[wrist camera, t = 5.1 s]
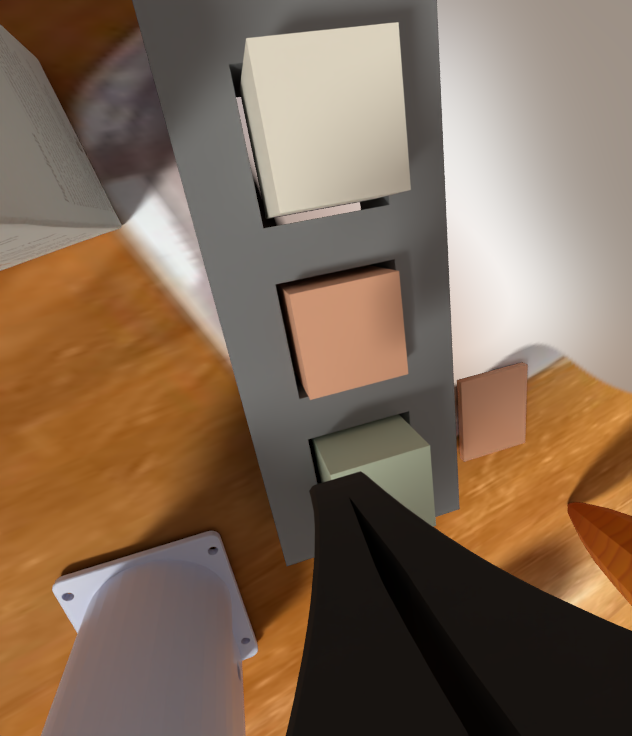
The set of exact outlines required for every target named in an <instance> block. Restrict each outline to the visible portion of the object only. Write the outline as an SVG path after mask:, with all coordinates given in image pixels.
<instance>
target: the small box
mask: <svg viewBox="0 0 632 736" xmlns="http://www.w3.org/2000/svg"><path fill="white" fill-rule="evenodd" d="M119 228H121V223H120V221H119V219H118V217H117V215H116V213H115V211H114V209H113V207H112V205H111V203H110V201H109V199H108V197H107V195H106V193H105V191H104V189H103V187H102V185H101V183H100V181H99V179H98V177H97V175H96V173H95V171H94V169H93V167H92V165H91V164H90V162H89V160H88V158H87V156H86V154H85V152H84V150H83V148H82V146H81V144H80V142H79V140H78V138H77V136H76V134H75V132H74V130H73V128H72V126H71V124H70V122H69V120H68V118H67V116H66V114H65V112H64V110H63V108H62V106H61V104H60V102H59V100H58V98H57V96H56V94H55V92H54V90H53V88H52V86H51V84H50V82H49V80H48V78H47V77H46V75H45V73H44V71H43V69H42V66H41V64H40V62H39V61H38V59H37V58H36V57H35V56H34V55H33V54H32V53H31V52H30V51H28V50H27V49H26V48H25V47H24V46H23V45H22V44H21V43H20V42H19V41H18V40H17V39H16V38H14V37H13V36H12V35H11V34H10V33H9V32H8V31H7V30H6V29H5V28H4V27H3V26H2V25H0V271H1V270H4V269H6V268H9V267H12V266H15V265H18V264H20V263H23V262H26V261H29V260H31V259H34V258H37V257H40V256H43V255H45V254H48V253H51V252H54V251H56V250H59V249H62V248H65V247H67V246H70V245H73V244H76V243H79V242H82V241H84V240H87V239H90V238H93V237H96V236H99V235H102V234H104V233H107V232H111V231H114V230H117V229H119Z"/></svg>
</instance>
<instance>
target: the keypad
mask: <svg viewBox="0 0 632 736" xmlns="http://www.w3.org/2000/svg"><path fill="white" fill-rule="evenodd" d="M132 1H133V5H134V9H135V12H136V16H137V20H138V23H139V27H140V31H141V34H142V38H143V42H144V45H145V49H146V53H147V56H148V60H149V64H150V67H151V71H152V75H153V78H154V82H155V86H156V89H157V93H158V97H159V100H160V104H161V108H162V111H163V115H164V119H165V122H166V126H167V130H168V133H169V137H170V140H171V144H172V148H173V151H174V155H175V159H176V162H177V166H178V170H179V173H180V177H181V181H182V184H183V188H184V192H185V195H186V199H187V203H188V206H189V210H190V214H191V217H192V221H193V225H194V228H195V232H196V236H197V239H198V243H199V247H200V250H201V254H202V258H203V261H204V265H205V269H206V272H207V276H208V280H209V283H210V287H211V291H212V294H213V298H214V302H215V305H216V309H217V313H218V316H219V320H220V324H221V327H222V331H223V335H224V338H225V342H226V346H227V349H228V353H229V357H230V360H231V364H232V368H233V371H234V375H235V379H236V382H237V386H238V390H239V393H240V397H241V401H242V404H243V408H244V412H245V415H246V419H247V423H248V426H249V430H250V434H251V437H252V441H253V445H254V448H255V452H256V456H257V459H258V463H259V467H260V470H261V474H262V478H263V481H264V485H265V489H266V492H267V496H268V499H269V503H270V507H271V510H272V514H273V518H274V521H275V525H276V529H277V532H278V536H279V540H280V543H281V547H282V551H283V554H284V558H285V562H286V565H287V566H289V565H292V564H295V563H298V562H301V561H304V560H307V559H310V558H313V557H314V552H315V523H314V511H313V506H312V502H311V497H310V493H309V490H310V489H311V487H312V486H313V485H316V484H320V483H321V482H320V483H317V481H316V476H315V471H314V466H313V462H312V457H311V452H310V447H309V443H308V439H311V438H315V437H319V436H322V435H326V434H329V433H333V432H336V431H340V430H343V429H347V428H351V427H354V426H358V425H361V424H365V423H368V422H372V421H375V420H379V419H383V418H386V417H390V416H393V415H397V414H399V415H400V416H401V417H402V418H403V419H404V420H405V421H406V422H407V423H408V424H409V425H410V426H411V427H412V428H413V429H414V430H415V431H416V432H417V433H418V434H419V435H420V436H421V437H422V438H423V439H424V440H425V441H426V442H427V443H428V444H429V445H430V453H431V466H432V479H433V493H434V506H435V517H437V516H440V515H443V514H446V513H449V512H452V511H455V510H458V509H459V489H458V467H457V445H456V422H455V400H454V379H453V355H452V333H451V311H450V288H449V268H448V267H449V266H448V245H447V222H446V221H447V220H446V199H445V176H444V155H443V154H444V153H443V131H442V109H441V86H440V64H439V41H438V19H437V0H132ZM396 22H398V23H399V37H400V50H401V63H402V77H403V90H404V104H405V117H406V131H407V144H408V157H409V171H410V184H411V190H408V191H404V192H400V193H396V194H392V195H388V196H384V197H380V198H376V199H372V200H367V201H362V202H360V205H361V210H360V211H354V212H349V213H343V214H338V215H333V216H327V217H322V218H317V219H311V220H306V221H301V222H295V223H290V224H284V225H279V226H274V227H268V228H263V224H262V219H261V215H260V210H259V205H258V200H257V196H256V191H255V186H254V181H253V177H252V172H251V167H250V162H249V158H248V153H247V148H246V144H245V139H244V135H243V129H242V125H241V120H240V115H239V111H238V106H237V101H236V97H241V94H240V82H241V74H242V66H243V59H244V51H245V43H246V38H253V37H263V36H272V35H282V34H291V33H301V32H310V31H320V30H329V29H339V28H348V27H358V26H367V25H377V24H386V23H396ZM365 265H371V266H376V267H381V268H386V269H391V270H397V271H399V276H400V287H401V298H402V309H403V320H404V331H405V342H406V353H407V364H408V374H407V375H403V376H399V377H395V378H392V379H388V380H384V381H380V382H376V383H373V384H369V385H365V386H361V387H358V388H354V389H350V390H346V391H342V392H339V393H335V394H331V395H327V396H323V397H320V398H316V399H312V400H310V398H309V397H308V395H307V393H306V391H305V389H304V387H303V386H302V384H301V382H300V380H299V378H298V376H297V375H296V373H295V372H294V371H293V367H292V362H291V357H290V352H289V348H288V343H287V338H286V333H285V329H284V324H283V319H282V314H281V310H280V305H279V300H278V295H277V291H276V286H275V284H280V283H284V282H289V281H294V280H299V279H303V278H308V277H313V276H318V275H322V274H327V273H332V272H336V271H341V270H346V269H351V268H355V267H360V266H365Z"/></svg>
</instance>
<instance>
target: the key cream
mask: <svg viewBox="0 0 632 736" xmlns="http://www.w3.org/2000/svg"><path fill="white" fill-rule="evenodd" d="M240 94H241V99H242V104H243V109H244V114H245V119H246V123H247V128H248V133H249V138H250V142H251V148H252V152H253V157H254V162H255V167H256V172H257V177H258V182H259V186H260V191H261V196H262V201H263V206H264V211H265V215H266V219H269V218H274V217H280V216H285V215H291V214H296V213H301V212H307V211H313V210H318V209H324V208H329V207H334V206H340V205H345V204H350V203H356V202H362V201H367V200H372V199H376V198H380V197H384V196H388V195H392V194H396V193H400V192H404V191H408V190H411V184H410V171H409V157H408V144H407V131H406V117H405V104H404V90H403V77H402V63H401V50H400V37H399V23H398V22H396V23H386V24H377V25H367V26H358V27H348V28H339V29H329V30H320V31H310V32H301V33H291V34H282V35H272V36H263V37H253V38H246V43H245V51H244V59H243V66H242V74H241V82H240Z"/></svg>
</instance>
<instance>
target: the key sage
mask: <svg viewBox="0 0 632 736" xmlns="http://www.w3.org/2000/svg"><path fill="white" fill-rule="evenodd" d="M312 443H313V448H314V453H315V458H316V463H317V468H318V472H319V477H320V482H321V483H323V482H326V481H330V480H333V479H336V478H340V477H343V476H346V475H350V474H353V473H356V472H359V471H361V472H363V473H364V474H366V475H367V476H368V477H369V478H370V479H372V480H373V481H374V482H375V483H376V484H377V485H379V486H380V487H381V488H382V489H384V490H385V491H386V492H387V493H388V494H390V495H391V496H392V497H393V498H395V499H396V500H397V501H399V502H400V503H401V504H402V505H404V506H405V507H406V508H408V509H409V510H410V511H412V512H413V513H415V514H416V515H417V516H419V517H420V518H421V519H423V520H424V521H426V522H427V523H428V524H430V525H431V526H436V520H435V506H434V493H433V479H432V466H431V453H430V445H429V444H428V443H427V442H426V441H425V440H424V439H423V438H422V437H421V436H420V435H419V434H418V433H417V432H416V431H415V430H414V429H413V428H412V427H411V426H410V425H409V424H408V423H407V422H406V421H405V420H404V419H403V418H402V417H401V416H400V415H399V414H397V415H393V416H390V417H386V418H383V419H379V420H375V421H372V422H368V423H365V424H361V425H358V426H354V427H351V428H347V429H343V430H340V431H336V432H333V433H329V434H326V435H322V436H319V437H315V438H312Z"/></svg>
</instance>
